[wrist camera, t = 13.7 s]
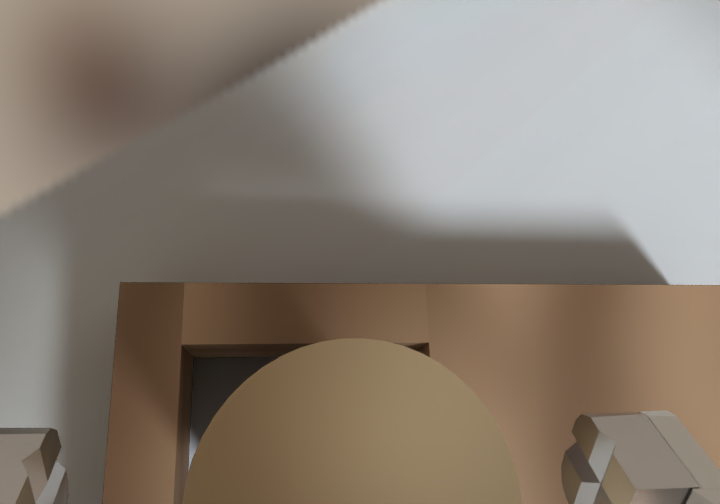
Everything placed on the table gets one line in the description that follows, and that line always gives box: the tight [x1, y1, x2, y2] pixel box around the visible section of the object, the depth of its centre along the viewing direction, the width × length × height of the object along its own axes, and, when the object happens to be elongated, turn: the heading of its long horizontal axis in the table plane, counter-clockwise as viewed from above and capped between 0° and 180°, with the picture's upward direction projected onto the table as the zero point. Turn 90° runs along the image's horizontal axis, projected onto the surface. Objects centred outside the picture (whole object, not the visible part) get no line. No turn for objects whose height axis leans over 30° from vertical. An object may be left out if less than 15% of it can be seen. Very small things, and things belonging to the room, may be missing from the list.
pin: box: [182, 338, 522, 504], centre depth 12 cm, size 4×4×10 cm
